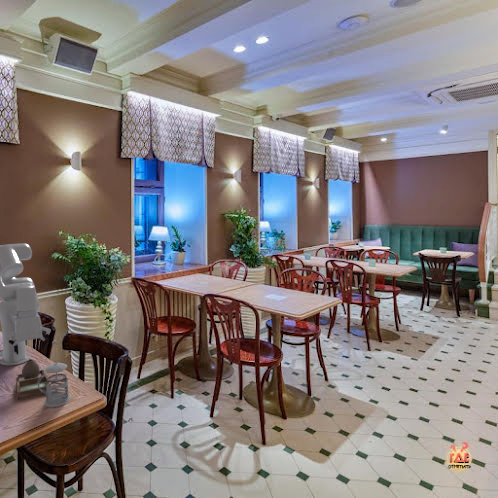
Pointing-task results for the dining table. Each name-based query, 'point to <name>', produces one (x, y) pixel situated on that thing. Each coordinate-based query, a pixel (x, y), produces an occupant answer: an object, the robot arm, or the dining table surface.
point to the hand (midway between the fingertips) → (30, 351)
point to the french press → (54, 396)
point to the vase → (30, 370)
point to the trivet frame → (22, 376)
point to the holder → (31, 387)
